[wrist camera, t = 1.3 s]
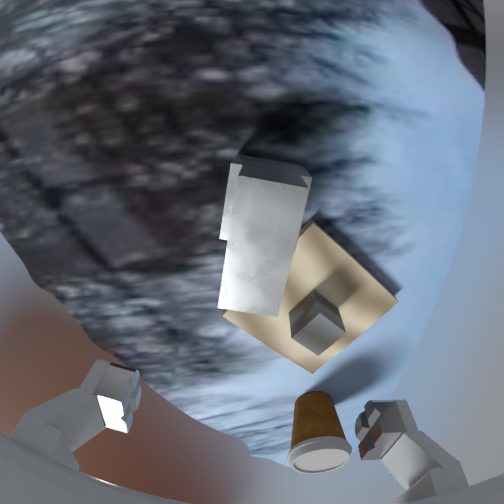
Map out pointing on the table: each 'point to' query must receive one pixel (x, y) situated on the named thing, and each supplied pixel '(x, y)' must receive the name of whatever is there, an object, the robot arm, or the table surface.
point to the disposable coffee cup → (317, 436)
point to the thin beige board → (319, 303)
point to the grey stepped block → (260, 232)
